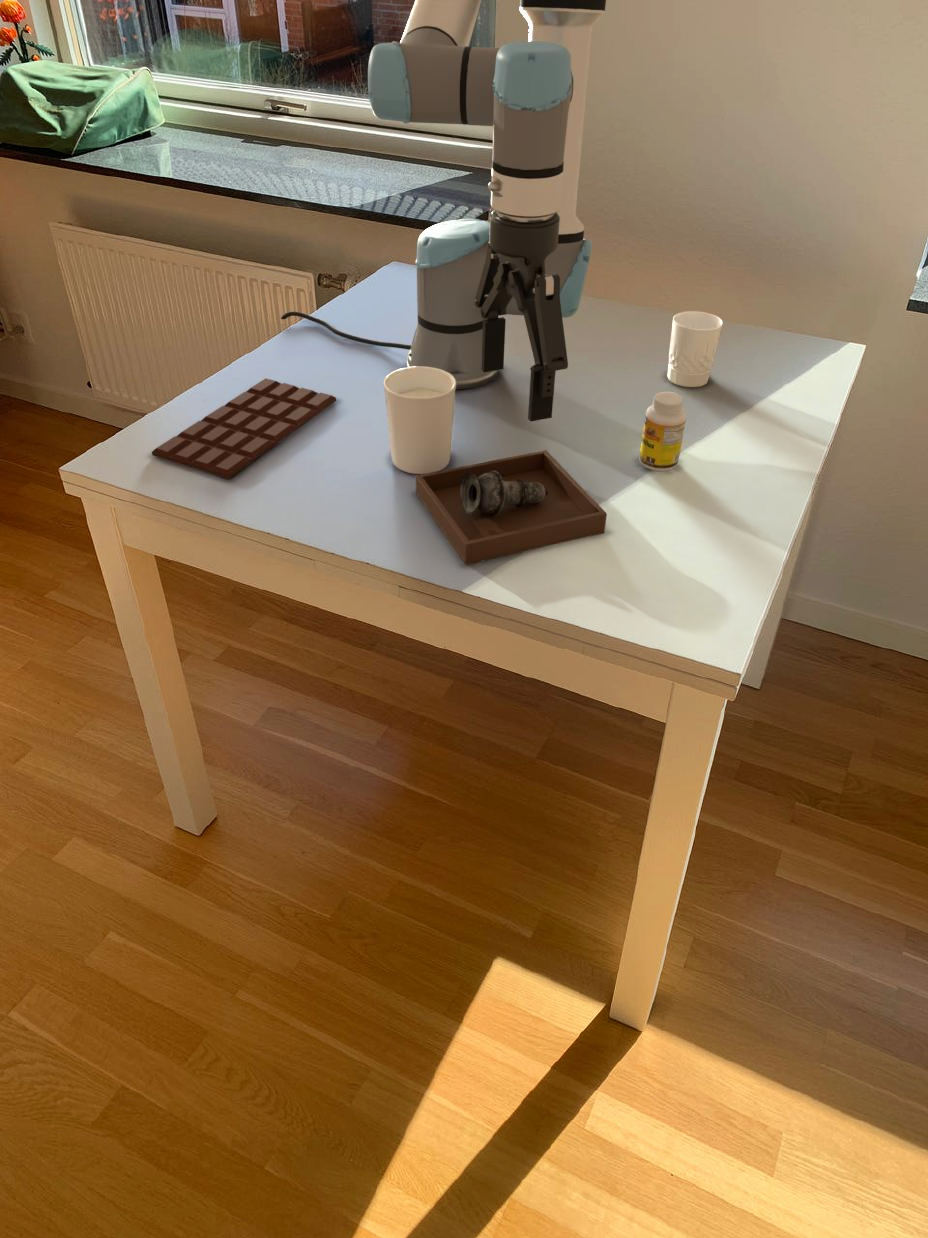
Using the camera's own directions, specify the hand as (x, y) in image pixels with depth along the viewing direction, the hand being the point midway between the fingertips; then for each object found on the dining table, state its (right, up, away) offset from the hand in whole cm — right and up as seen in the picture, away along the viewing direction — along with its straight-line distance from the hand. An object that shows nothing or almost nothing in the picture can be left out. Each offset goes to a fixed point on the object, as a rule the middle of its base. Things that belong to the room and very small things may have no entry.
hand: (515, 393), depth 117 cm
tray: (0, -13, +10) cm, 17 cm away
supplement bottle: (+22, -5, +21) cm, 31 cm away
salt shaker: (-6, -11, +6) cm, 14 cm away
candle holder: (-12, -5, +21) cm, 25 cm away
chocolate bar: (-38, +1, +27) cm, 47 cm away
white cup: (+31, +12, +43) cm, 55 cm away
